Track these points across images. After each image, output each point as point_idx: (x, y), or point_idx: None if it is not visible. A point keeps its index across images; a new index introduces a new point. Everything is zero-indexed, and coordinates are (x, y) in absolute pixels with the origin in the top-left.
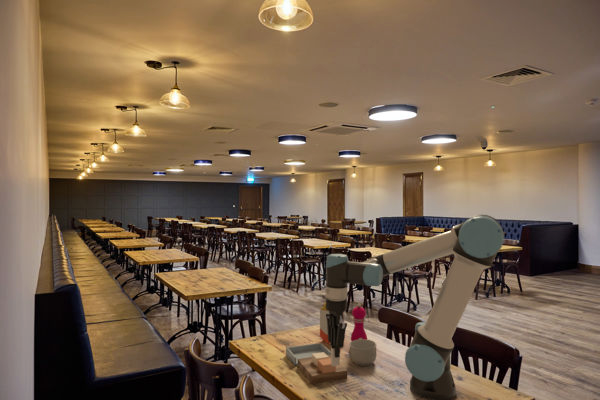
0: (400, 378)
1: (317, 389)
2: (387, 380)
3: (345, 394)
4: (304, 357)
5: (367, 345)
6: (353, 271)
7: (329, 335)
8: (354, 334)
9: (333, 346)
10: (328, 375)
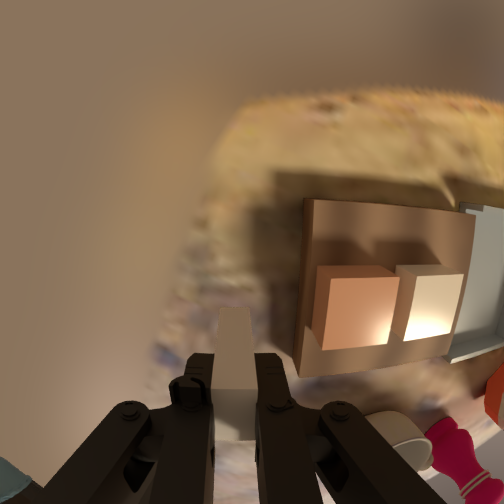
0: (225, 472)
1: (248, 201)
2: (225, 448)
3: (167, 296)
4: (486, 261)
5: None
6: None
7: (350, 460)
8: (461, 449)
9: (193, 401)
10: (305, 287)
